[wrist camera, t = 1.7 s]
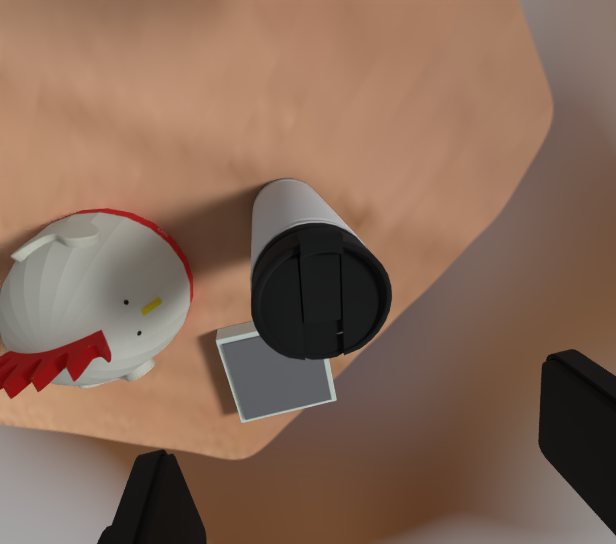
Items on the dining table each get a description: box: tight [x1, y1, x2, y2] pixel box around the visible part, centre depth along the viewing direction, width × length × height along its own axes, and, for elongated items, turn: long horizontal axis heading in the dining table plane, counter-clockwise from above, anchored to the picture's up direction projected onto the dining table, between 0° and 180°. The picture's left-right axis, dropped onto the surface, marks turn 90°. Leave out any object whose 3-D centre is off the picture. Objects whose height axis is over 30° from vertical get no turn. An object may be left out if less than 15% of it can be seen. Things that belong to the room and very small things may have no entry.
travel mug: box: [250, 178, 392, 360], centre depth 25 cm, size 6×7×20 cm
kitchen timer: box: [0, 208, 193, 399], centre depth 28 cm, size 14×14×15 cm
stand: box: [216, 321, 336, 423], centre depth 39 cm, size 10×10×2 cm
